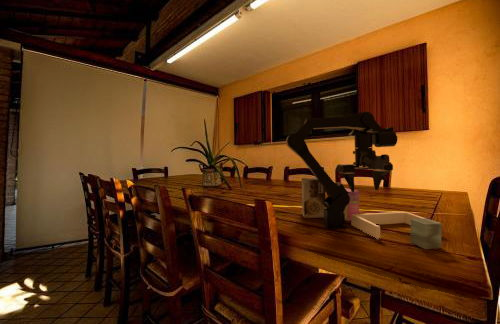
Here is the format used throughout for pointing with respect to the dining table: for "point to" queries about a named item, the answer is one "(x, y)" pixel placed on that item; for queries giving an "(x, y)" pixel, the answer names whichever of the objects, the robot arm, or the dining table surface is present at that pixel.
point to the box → (352, 204)
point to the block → (426, 233)
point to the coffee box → (312, 198)
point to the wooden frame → (380, 221)
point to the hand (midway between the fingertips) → (364, 190)
